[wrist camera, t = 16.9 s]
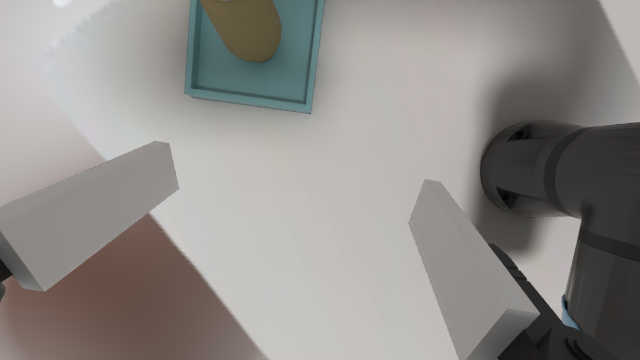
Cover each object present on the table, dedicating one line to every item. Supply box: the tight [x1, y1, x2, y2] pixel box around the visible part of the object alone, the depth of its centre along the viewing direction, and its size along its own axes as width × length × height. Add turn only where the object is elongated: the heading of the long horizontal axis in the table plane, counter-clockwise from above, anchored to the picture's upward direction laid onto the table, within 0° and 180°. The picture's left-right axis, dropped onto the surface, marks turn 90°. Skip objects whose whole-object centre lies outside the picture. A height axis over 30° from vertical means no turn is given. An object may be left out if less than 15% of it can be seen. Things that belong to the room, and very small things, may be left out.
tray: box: [185, 0, 325, 114], centre depth 33 cm, size 18×18×2 cm
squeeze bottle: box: [199, 0, 282, 63], centre depth 25 cm, size 8×8×18 cm
